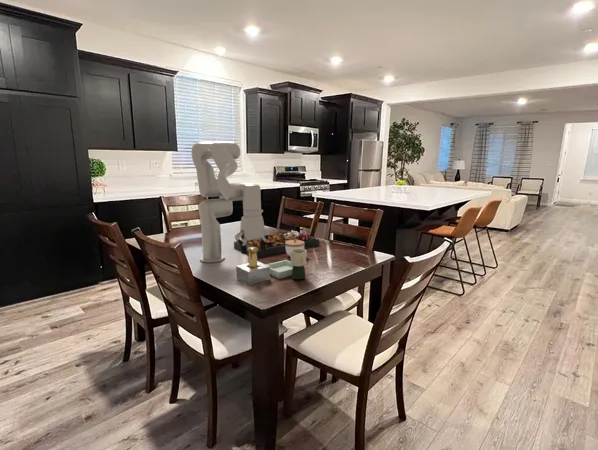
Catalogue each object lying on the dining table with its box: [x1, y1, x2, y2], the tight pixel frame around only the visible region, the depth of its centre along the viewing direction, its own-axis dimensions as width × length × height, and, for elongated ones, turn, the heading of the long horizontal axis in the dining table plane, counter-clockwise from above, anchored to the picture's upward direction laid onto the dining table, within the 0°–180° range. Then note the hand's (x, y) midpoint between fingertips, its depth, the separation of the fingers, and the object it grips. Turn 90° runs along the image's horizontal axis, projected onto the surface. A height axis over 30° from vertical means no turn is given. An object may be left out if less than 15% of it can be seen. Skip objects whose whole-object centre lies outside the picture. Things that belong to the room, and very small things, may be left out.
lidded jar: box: [285, 239, 305, 258], centre depth 187 cm, size 11×11×9 cm
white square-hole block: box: [235, 260, 271, 286], centre depth 152 cm, size 10×11×6 cm
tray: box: [265, 259, 293, 280], centre depth 162 cm, size 13×14×3 cm
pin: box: [247, 247, 258, 269], centre depth 152 cm, size 5×5×14 cm
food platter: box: [233, 229, 320, 259], centre depth 206 cm, size 45×25×10 cm, turn 127°
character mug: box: [290, 248, 308, 280], centre depth 153 cm, size 11×7×13 cm, turn 26°
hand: (253, 252), depth 150 cm, fingers open, 9 cm apart
